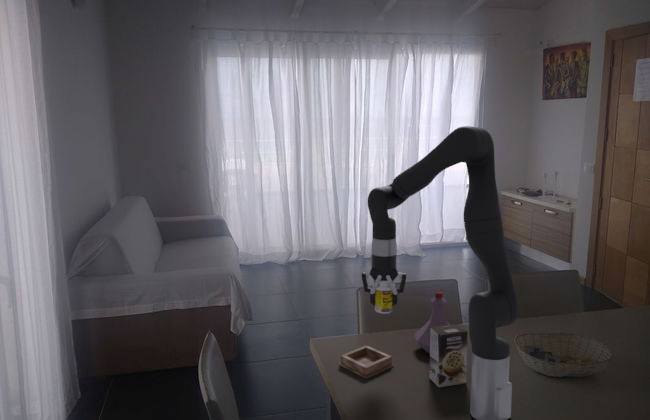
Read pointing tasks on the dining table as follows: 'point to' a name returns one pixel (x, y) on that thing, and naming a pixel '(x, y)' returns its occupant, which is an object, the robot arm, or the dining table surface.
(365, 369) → the walnut collar stand
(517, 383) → the dining table surface
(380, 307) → the supplement bottle
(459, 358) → the coffee box
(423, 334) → the flask
